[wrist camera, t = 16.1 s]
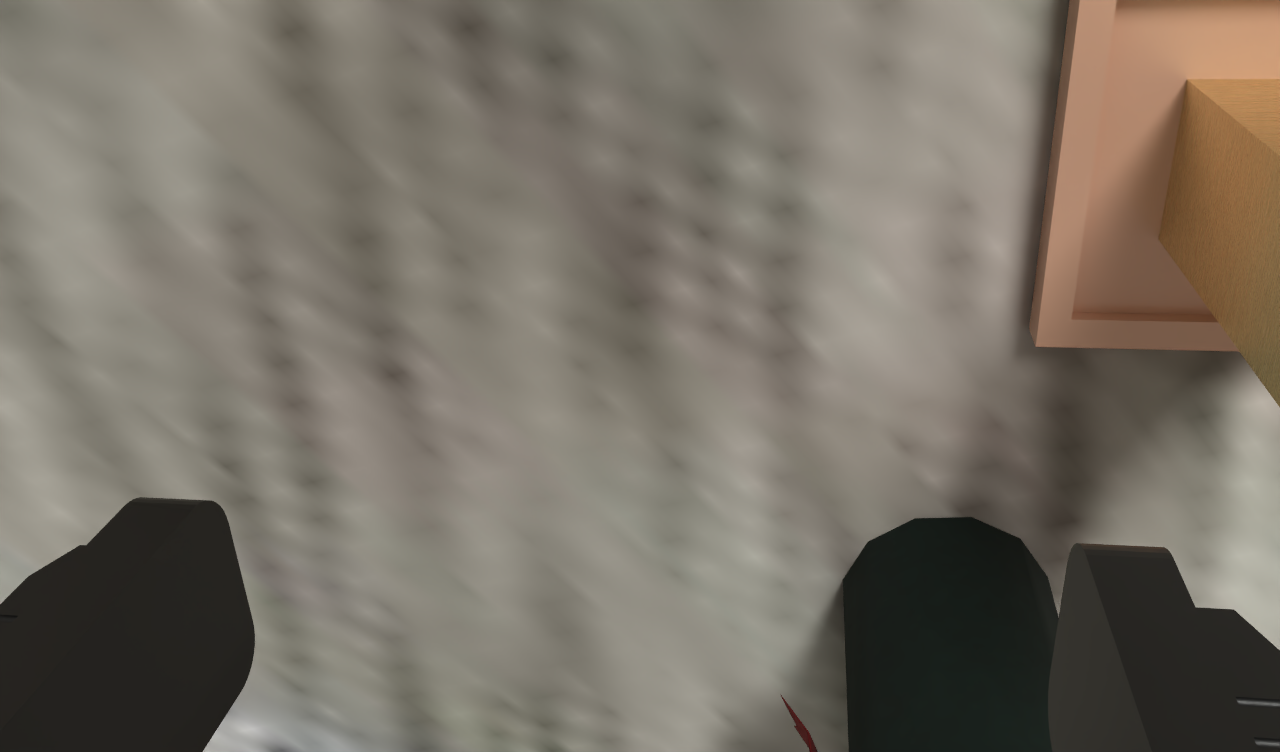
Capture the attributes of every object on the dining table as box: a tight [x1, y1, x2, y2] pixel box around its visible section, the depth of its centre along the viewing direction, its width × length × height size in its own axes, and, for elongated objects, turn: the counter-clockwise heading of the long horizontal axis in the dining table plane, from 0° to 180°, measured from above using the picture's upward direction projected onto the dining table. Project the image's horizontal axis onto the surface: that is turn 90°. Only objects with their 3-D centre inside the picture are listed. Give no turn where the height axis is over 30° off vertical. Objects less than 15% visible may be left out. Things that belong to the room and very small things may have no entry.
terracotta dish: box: [1029, 0, 1280, 351], centre depth 35 cm, size 12×12×1 cm
